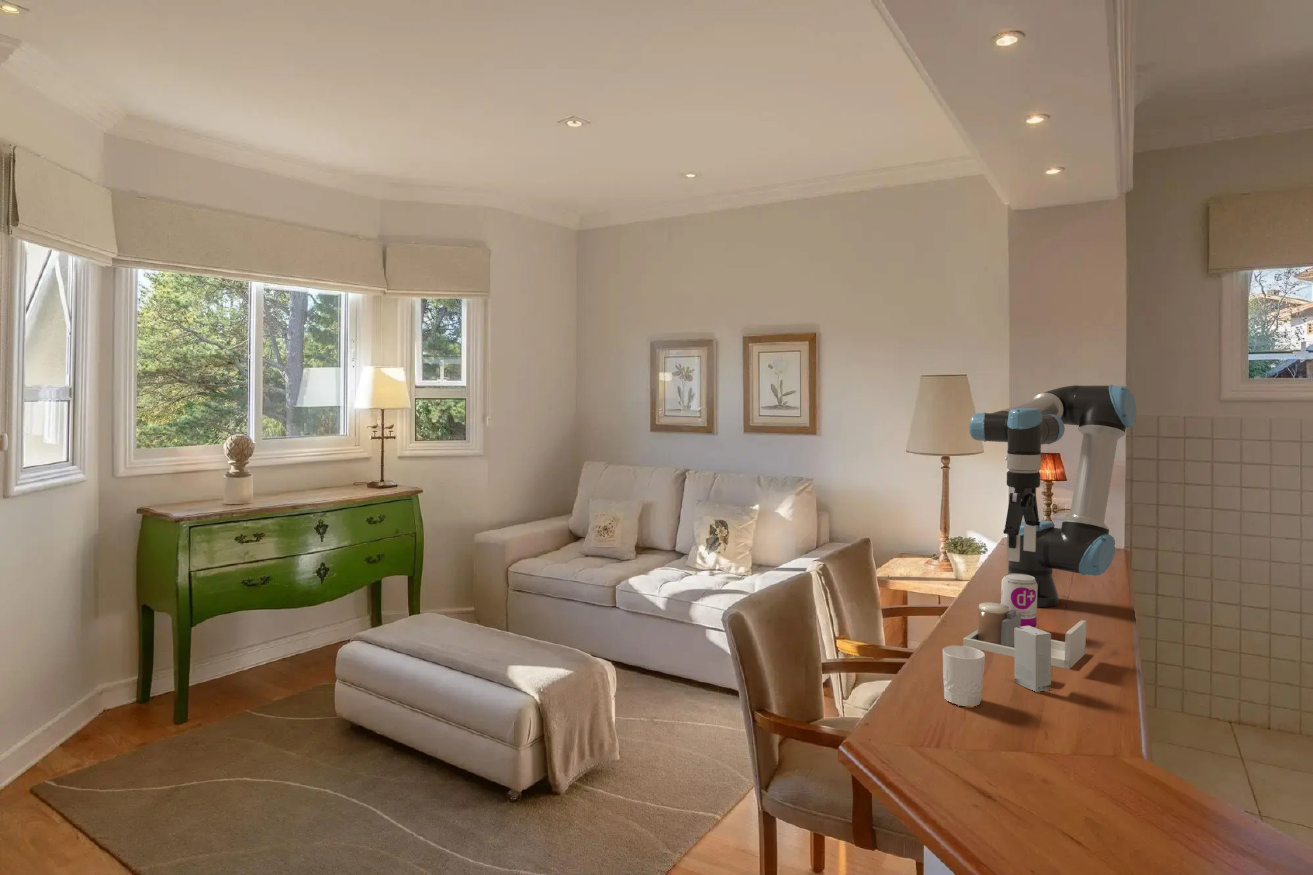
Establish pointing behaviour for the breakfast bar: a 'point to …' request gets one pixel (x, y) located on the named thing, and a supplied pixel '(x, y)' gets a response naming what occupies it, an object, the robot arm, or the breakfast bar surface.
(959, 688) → the white cup
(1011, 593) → the supplement can
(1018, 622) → the pusher
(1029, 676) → the skincare box
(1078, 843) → the breakfast bar surface
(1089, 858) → the breakfast bar surface
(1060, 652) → the lane
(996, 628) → the jar
